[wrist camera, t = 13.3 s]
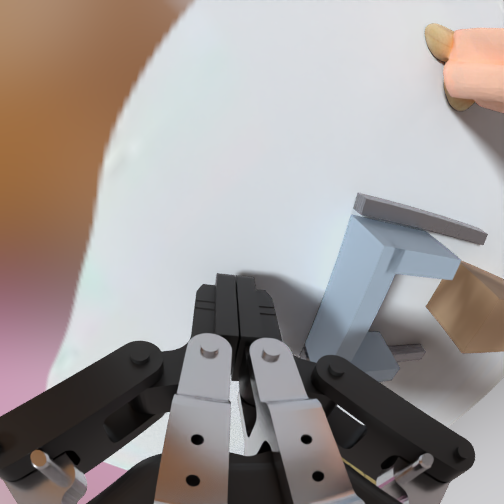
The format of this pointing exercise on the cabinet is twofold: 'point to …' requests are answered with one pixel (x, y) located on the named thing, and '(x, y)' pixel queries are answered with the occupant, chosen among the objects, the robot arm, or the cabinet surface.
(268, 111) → the cabinet surface
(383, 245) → the cap
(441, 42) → the grandmother figurine
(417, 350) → the track
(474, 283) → the brown wooden bar
